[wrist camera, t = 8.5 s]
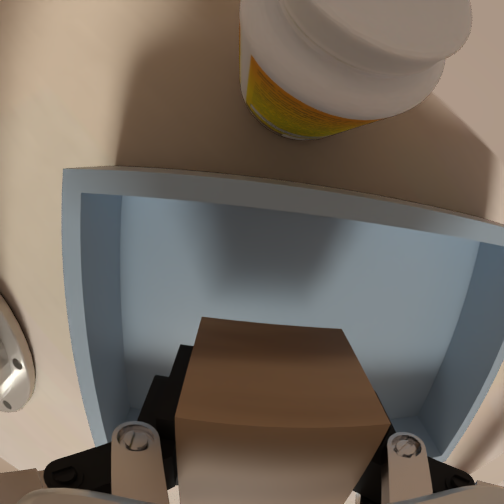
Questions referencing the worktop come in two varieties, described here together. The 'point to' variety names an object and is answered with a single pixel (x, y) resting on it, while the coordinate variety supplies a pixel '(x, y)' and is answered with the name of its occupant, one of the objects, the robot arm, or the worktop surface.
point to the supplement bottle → (343, 59)
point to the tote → (280, 286)
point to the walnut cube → (274, 416)
